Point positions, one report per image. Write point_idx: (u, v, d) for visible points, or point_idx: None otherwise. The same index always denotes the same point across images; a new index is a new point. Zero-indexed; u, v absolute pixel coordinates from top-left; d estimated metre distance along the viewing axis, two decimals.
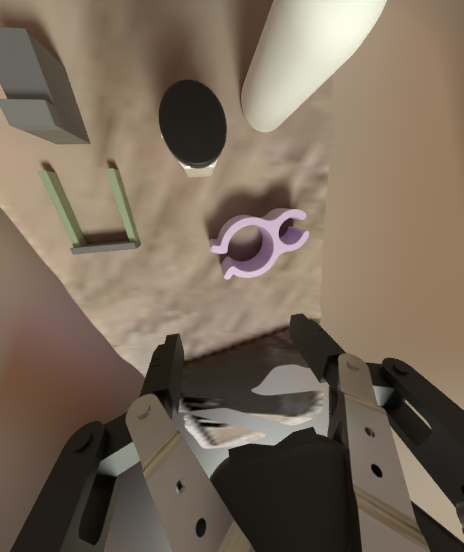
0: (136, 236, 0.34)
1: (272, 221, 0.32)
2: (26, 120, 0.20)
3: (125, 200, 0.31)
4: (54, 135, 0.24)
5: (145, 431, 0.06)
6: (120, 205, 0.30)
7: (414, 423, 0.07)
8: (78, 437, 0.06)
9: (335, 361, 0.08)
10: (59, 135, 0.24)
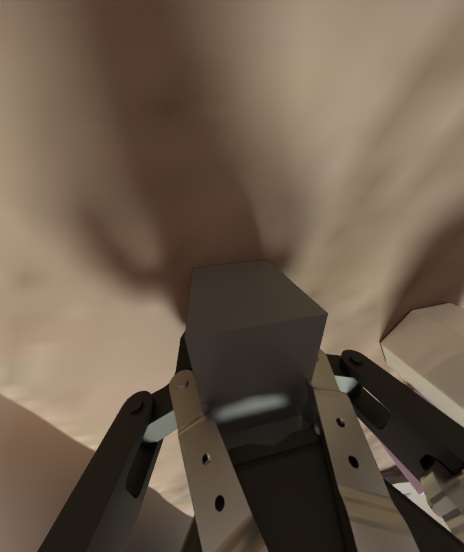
0: None
1: None
2: None
3: None
4: None
5: (188, 398, 0.07)
6: None
7: (373, 406, 0.08)
8: (133, 401, 0.07)
9: None
10: None
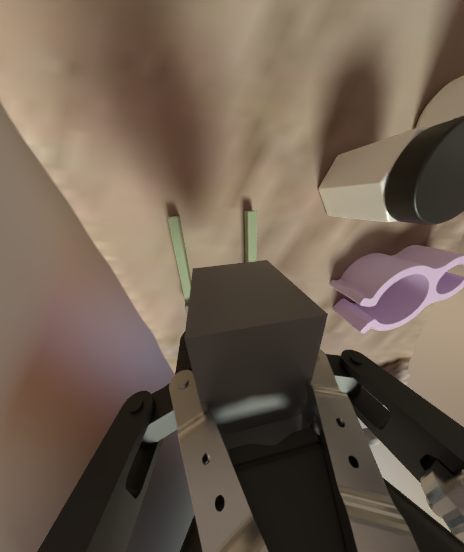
0: None
1: (438, 269, 0.25)
2: None
3: None
4: None
5: (188, 398, 0.07)
6: (251, 253, 0.24)
7: (373, 406, 0.08)
8: (133, 401, 0.07)
9: None
10: None
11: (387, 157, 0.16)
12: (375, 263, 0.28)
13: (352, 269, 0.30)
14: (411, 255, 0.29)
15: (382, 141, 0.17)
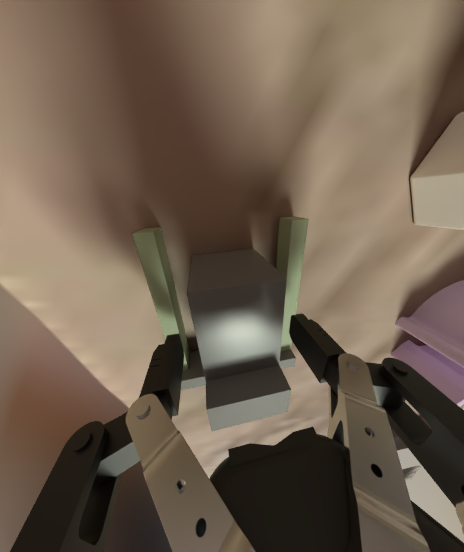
0: None
1: None
2: (244, 419, 0.10)
3: None
4: None
5: (145, 431, 0.06)
6: (289, 292, 0.14)
7: (414, 423, 0.07)
8: (78, 438, 0.06)
9: (335, 361, 0.08)
10: None
11: None
12: None
13: (437, 304, 0.19)
14: None
15: None
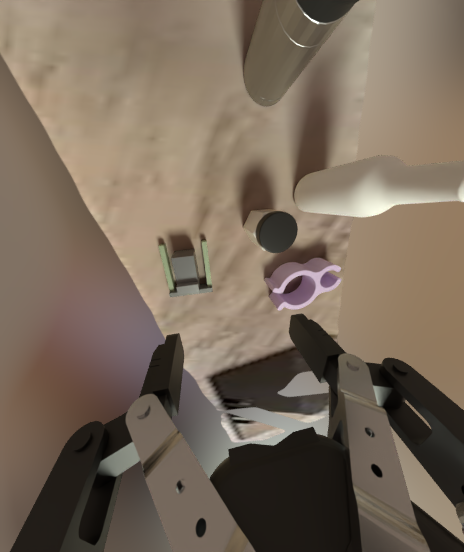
0: None
1: (317, 272, 0.44)
2: (186, 293, 0.39)
3: (208, 259, 0.43)
4: None
5: (145, 431, 0.06)
6: (206, 263, 0.43)
7: (414, 423, 0.07)
8: (78, 437, 0.06)
9: (335, 361, 0.08)
10: None
11: (256, 222, 0.34)
12: (286, 268, 0.46)
13: (276, 271, 0.49)
14: (311, 264, 0.48)
15: (258, 213, 0.35)
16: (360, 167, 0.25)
